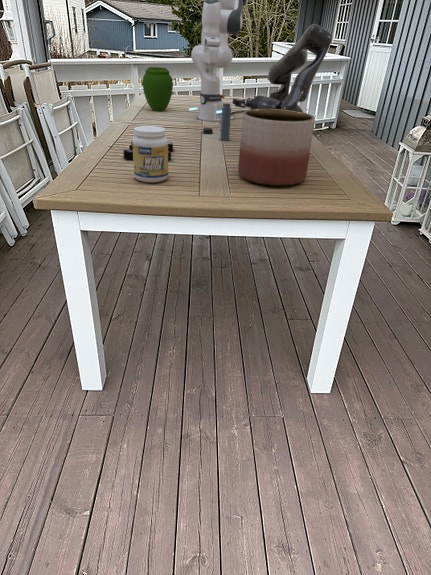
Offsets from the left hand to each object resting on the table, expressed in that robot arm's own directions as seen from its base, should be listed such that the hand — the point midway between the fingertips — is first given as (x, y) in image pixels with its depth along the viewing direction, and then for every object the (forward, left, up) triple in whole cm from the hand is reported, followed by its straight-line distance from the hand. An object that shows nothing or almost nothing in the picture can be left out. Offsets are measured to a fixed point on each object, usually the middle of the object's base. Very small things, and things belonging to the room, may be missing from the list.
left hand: (209, 73), depth 202 cm
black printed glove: (+47, +20, -28) cm, 58 cm away
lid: (0, +1, -26) cm, 26 cm away
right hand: (+3, +28, -8) cm, 29 cm away
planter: (+27, +74, -28) cm, 84 cm away
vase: (-12, -69, -28) cm, 75 cm away
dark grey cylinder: (+3, +18, -28) cm, 33 cm away
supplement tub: (+66, +53, -28) cm, 89 cm away
